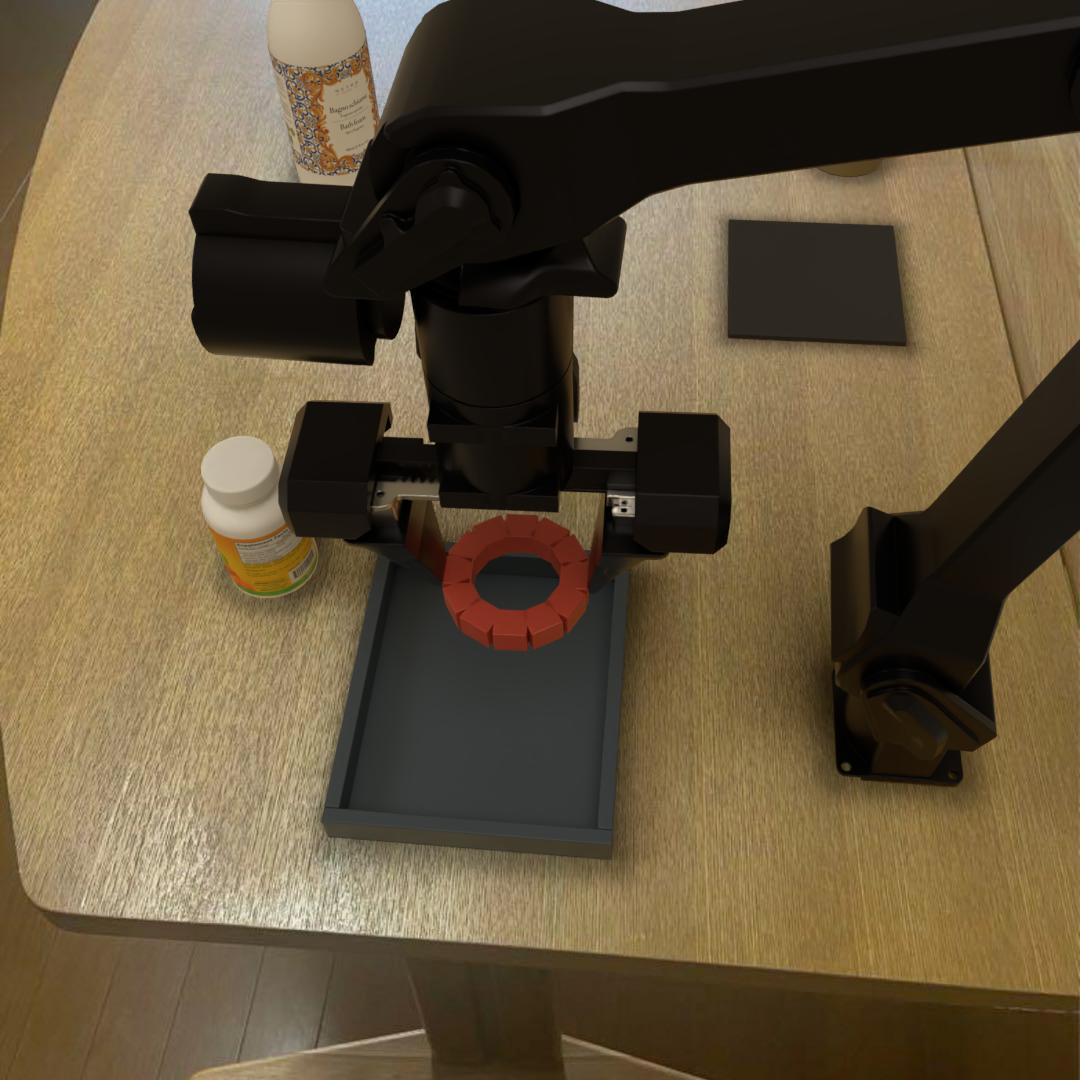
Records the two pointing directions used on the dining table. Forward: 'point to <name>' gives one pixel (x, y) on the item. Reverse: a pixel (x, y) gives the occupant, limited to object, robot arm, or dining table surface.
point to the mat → (814, 282)
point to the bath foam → (323, 86)
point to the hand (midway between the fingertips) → (517, 581)
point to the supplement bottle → (253, 519)
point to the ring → (516, 624)
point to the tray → (481, 721)
